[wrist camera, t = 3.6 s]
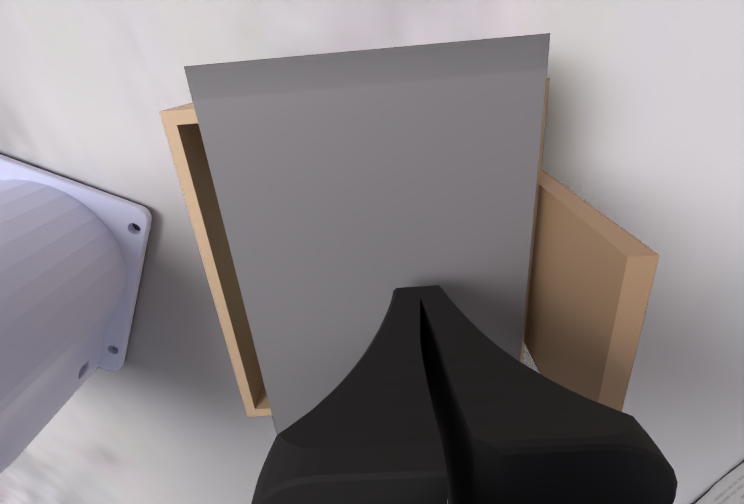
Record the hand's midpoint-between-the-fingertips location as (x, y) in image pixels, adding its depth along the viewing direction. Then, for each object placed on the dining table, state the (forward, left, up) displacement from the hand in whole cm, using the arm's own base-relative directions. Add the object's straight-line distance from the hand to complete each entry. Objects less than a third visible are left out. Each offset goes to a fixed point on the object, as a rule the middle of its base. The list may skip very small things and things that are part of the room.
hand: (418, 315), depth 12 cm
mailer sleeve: (-1, +1, -7) cm, 7 cm away
